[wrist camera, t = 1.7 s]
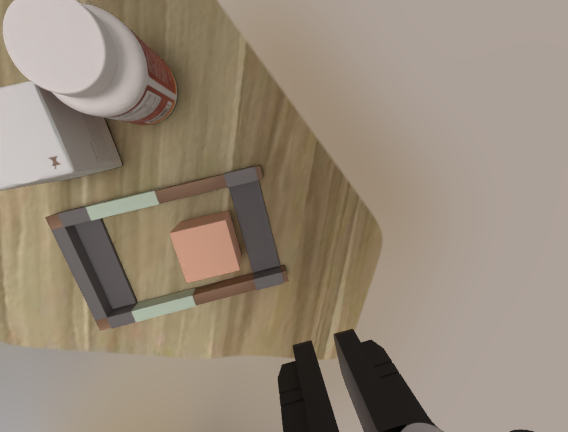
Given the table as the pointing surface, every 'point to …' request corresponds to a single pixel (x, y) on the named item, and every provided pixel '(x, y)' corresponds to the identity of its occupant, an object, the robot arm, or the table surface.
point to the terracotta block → (207, 246)
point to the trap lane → (110, 274)
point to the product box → (49, 139)
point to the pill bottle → (89, 60)
